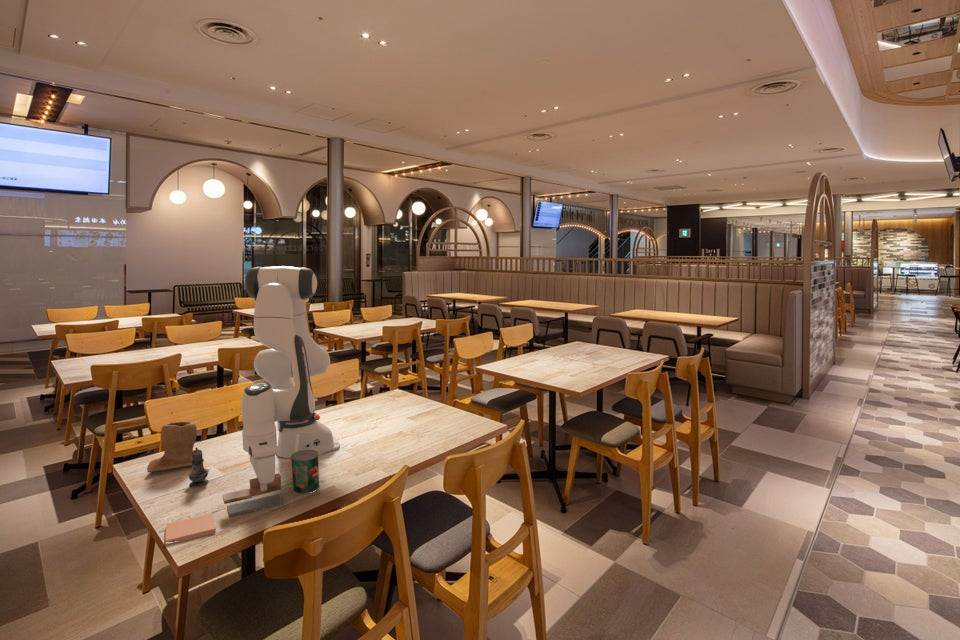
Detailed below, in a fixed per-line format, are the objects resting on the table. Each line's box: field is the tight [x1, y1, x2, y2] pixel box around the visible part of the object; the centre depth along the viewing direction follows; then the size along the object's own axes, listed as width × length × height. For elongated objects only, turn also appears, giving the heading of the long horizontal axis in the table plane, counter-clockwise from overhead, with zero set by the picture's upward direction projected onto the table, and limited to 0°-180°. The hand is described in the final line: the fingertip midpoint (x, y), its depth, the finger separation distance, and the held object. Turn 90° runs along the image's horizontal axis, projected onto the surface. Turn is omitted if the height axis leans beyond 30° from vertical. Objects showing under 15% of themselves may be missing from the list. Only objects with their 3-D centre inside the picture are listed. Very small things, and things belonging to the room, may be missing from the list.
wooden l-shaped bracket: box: [222, 472, 282, 505], centre depth 139 cm, size 15×4×4 cm, turn 123°
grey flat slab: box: [227, 493, 284, 518], centre depth 141 cm, size 14×6×1 cm, turn 123°
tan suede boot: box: [146, 420, 197, 473], centre depth 166 cm, size 15×12×15 cm
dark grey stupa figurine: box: [187, 447, 210, 488], centre depth 153 cm, size 6×6×12 cm
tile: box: [165, 512, 216, 543], centre depth 128 cm, size 2×9×11 cm
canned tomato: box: [290, 450, 320, 495], centre depth 151 cm, size 8×8×11 cm
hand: (262, 486), depth 141 cm, fingers closed on wooden l-shaped bracket, 3 cm apart
